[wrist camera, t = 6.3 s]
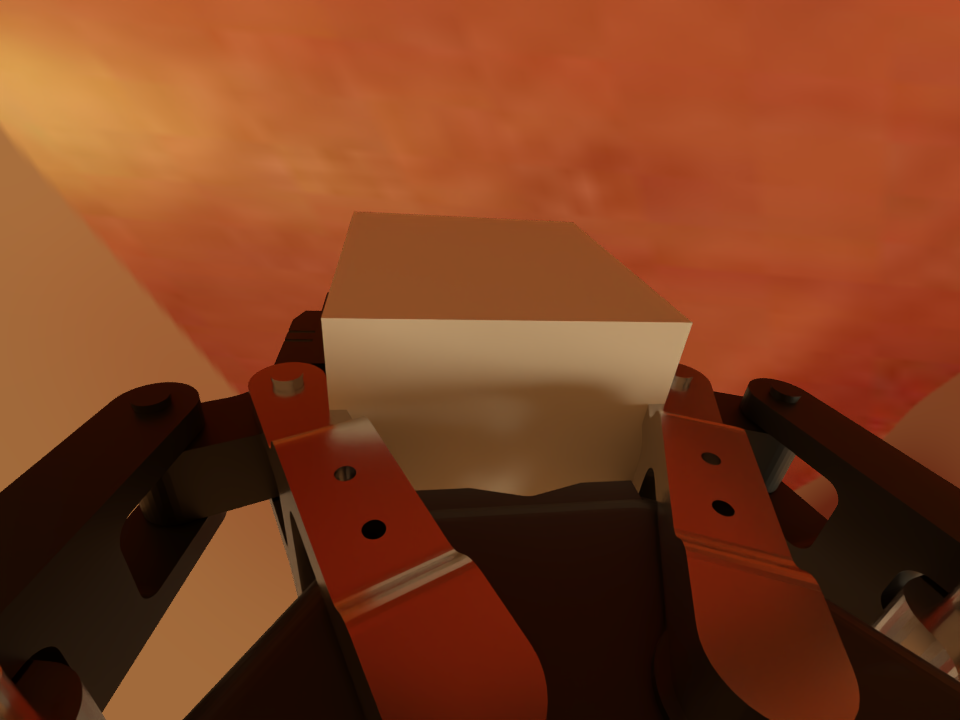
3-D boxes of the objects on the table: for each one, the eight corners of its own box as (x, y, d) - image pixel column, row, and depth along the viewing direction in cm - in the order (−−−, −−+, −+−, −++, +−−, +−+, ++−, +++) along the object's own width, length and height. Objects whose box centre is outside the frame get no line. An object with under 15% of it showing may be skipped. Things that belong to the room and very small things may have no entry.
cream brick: (353, 211, 12) (320, 318, 7) (572, 222, 13) (692, 322, 8) (362, 400, 14) (343, 577, 9) (541, 397, 15) (612, 556, 10)
